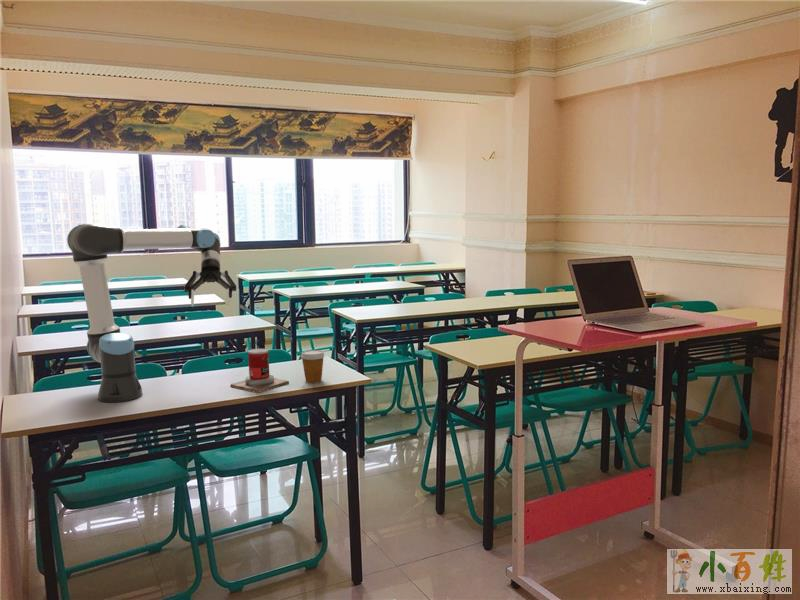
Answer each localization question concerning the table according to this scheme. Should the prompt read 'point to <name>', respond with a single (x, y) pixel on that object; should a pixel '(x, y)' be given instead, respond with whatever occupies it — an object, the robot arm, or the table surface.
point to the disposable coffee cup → (313, 365)
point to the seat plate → (258, 388)
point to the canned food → (258, 364)
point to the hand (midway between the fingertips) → (210, 303)
